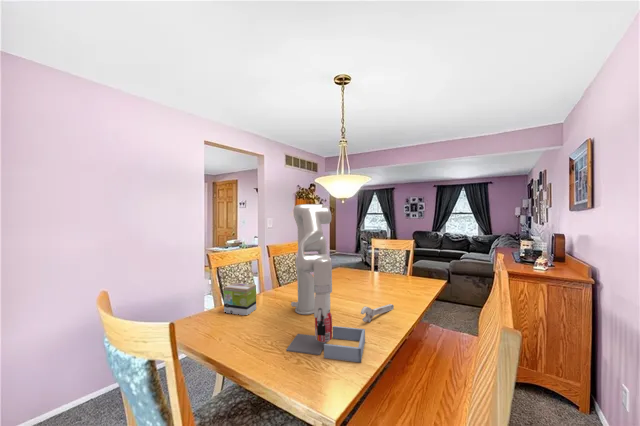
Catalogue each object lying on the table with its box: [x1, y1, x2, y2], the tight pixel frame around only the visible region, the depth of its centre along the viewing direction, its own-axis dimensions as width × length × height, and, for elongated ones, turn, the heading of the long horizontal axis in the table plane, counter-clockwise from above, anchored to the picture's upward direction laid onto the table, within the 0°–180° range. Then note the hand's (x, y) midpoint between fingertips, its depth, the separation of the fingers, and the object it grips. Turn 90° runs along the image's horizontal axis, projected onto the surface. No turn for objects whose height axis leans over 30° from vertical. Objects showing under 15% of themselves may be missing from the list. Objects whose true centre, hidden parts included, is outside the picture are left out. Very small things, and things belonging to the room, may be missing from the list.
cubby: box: [323, 325, 366, 364], centre depth 109 cm, size 14×17×5 cm
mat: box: [285, 333, 327, 356], centre depth 113 cm, size 14×14×1 cm
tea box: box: [223, 282, 257, 316], centre depth 151 cm, size 15×10×15 cm
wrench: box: [360, 303, 395, 323], centre depth 141 cm, size 8×2×30 cm
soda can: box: [314, 309, 333, 343], centre depth 112 cm, size 7×7×12 cm
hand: (323, 330), depth 112 cm, fingers closed on soda can, 7 cm apart
